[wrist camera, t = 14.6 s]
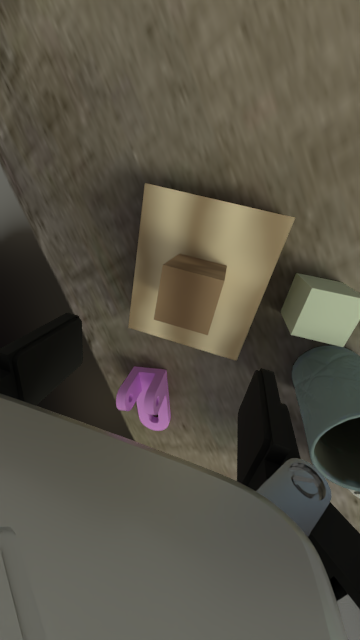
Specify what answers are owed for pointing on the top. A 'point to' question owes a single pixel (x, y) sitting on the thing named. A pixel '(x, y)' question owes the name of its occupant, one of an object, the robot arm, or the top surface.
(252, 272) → the birch block
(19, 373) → the robot arm
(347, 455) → the teal cylinder
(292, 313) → the sage cube
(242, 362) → the top surface
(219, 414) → the top surface
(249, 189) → the top surface
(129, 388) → the bracket
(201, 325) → the walnut cube
